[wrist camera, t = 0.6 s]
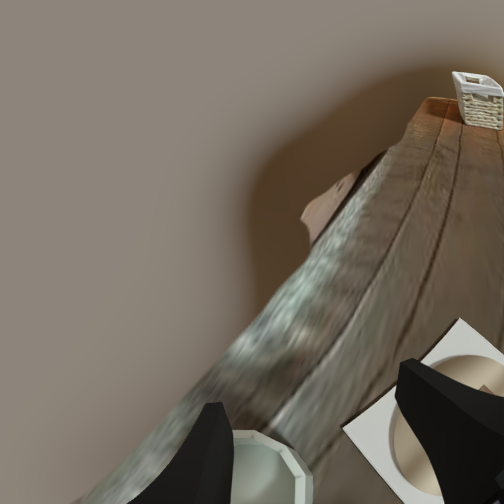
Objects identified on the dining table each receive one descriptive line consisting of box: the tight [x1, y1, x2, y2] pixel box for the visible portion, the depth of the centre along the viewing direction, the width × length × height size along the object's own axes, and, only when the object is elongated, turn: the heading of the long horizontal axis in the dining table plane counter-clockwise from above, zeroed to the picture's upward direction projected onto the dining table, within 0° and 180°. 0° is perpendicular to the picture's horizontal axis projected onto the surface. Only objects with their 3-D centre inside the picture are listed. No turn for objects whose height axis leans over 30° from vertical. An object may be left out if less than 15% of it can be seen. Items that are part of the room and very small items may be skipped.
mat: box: [342, 318, 504, 504], centre depth 16 cm, size 18×18×1 cm
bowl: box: [231, 430, 314, 504], centre depth 18 cm, size 12×12×5 cm
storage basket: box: [452, 72, 504, 130], centre depth 54 cm, size 24×16×15 cm
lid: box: [394, 355, 504, 496], centre depth 14 cm, size 15×15×5 cm
